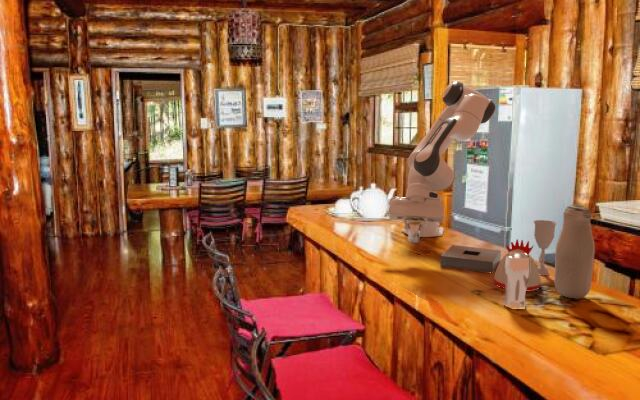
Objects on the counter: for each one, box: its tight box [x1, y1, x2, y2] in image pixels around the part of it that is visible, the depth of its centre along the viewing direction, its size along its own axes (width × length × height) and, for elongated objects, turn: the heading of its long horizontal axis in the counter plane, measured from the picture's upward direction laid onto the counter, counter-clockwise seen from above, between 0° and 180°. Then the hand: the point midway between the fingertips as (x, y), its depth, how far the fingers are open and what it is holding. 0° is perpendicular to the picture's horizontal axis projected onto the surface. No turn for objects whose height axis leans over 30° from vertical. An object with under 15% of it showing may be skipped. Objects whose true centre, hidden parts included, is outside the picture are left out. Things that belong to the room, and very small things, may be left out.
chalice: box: [533, 219, 558, 276], centre depth 181 cm, size 7×7×18 cm
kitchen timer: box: [493, 238, 541, 290], centre depth 169 cm, size 14×14×15 cm
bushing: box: [407, 218, 422, 244], centre depth 193 cm, size 5×5×8 cm
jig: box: [439, 244, 502, 274], centre depth 194 cm, size 18×18×4 cm
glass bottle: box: [553, 204, 596, 300], centre depth 157 cm, size 10×10×28 cm
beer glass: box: [503, 252, 530, 308], centre depth 150 cm, size 7×7×15 cm
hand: (414, 229), depth 192 cm, fingers closed on bushing, 4 cm apart
